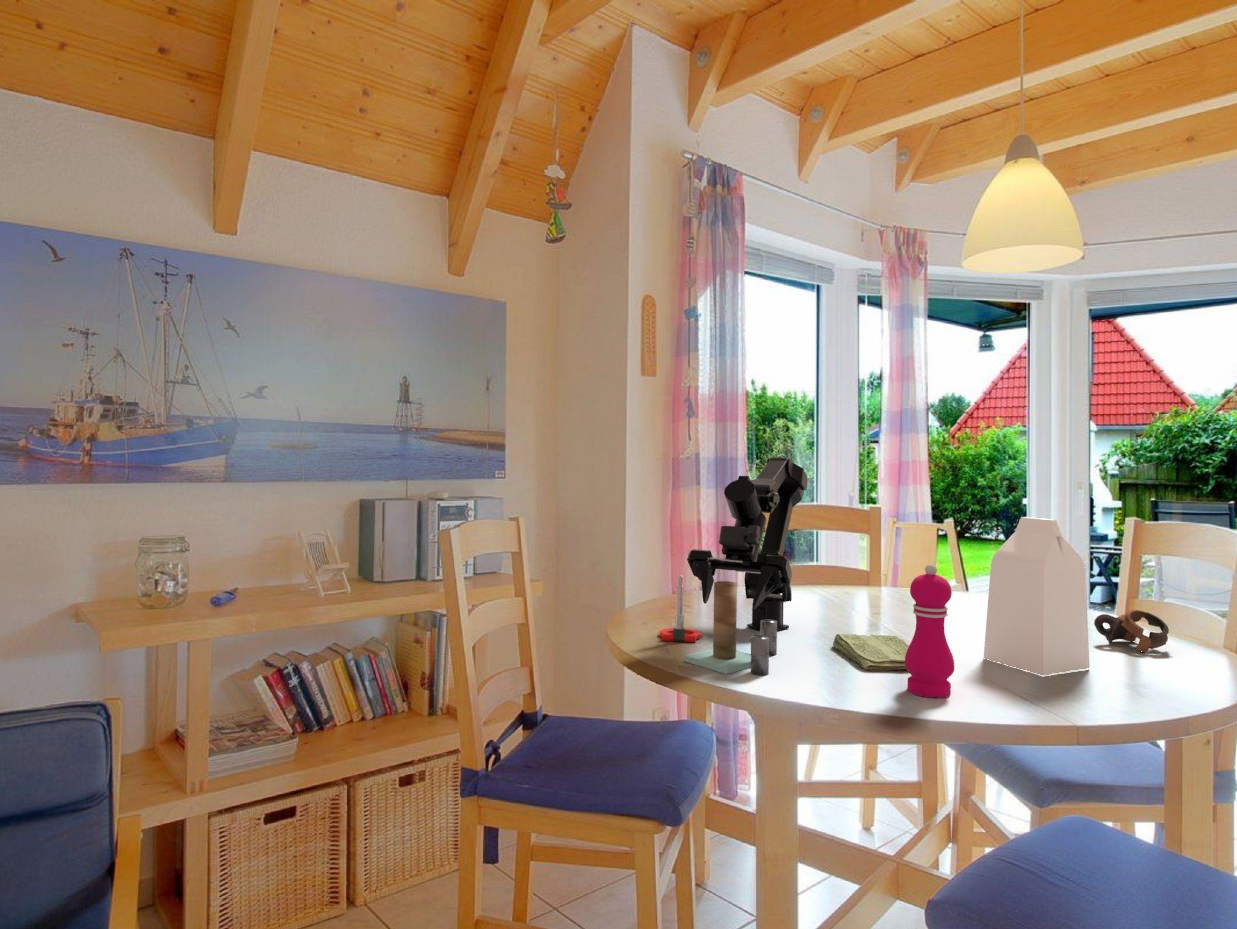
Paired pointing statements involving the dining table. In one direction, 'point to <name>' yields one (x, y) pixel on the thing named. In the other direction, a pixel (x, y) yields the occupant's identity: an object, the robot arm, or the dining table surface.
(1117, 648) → the dining table surface
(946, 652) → the pepper mill
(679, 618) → the tow hook
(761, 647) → the post near pad
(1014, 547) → the milk
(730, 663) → the teal pad
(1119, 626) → the brown ring bracket
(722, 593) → the walnut dowel
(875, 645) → the washcloth
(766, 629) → the post farther from pad
